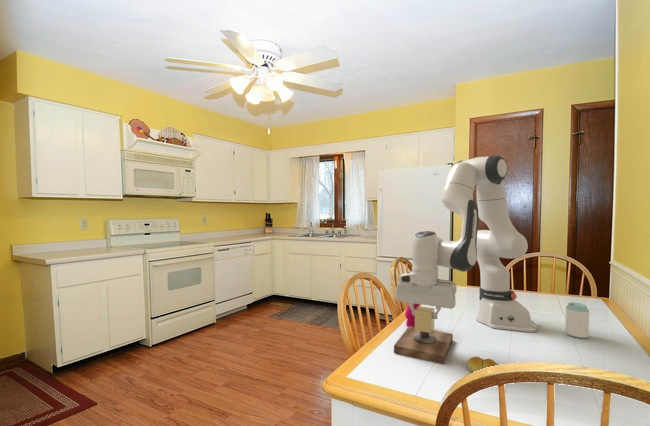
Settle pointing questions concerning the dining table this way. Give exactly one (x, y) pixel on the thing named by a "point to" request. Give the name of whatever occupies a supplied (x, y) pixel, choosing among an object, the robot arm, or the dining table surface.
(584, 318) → the can
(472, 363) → the bread roll
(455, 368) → the dining table surface
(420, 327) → the wooden cube block
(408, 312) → the pepper mill
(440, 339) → the walnut board
